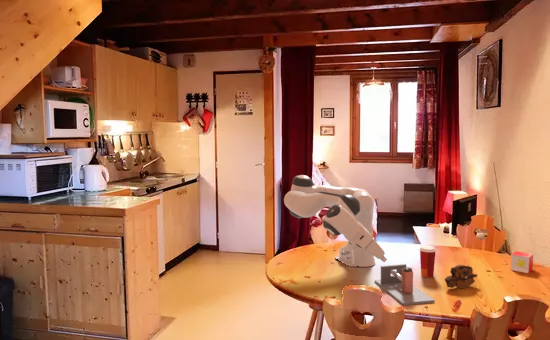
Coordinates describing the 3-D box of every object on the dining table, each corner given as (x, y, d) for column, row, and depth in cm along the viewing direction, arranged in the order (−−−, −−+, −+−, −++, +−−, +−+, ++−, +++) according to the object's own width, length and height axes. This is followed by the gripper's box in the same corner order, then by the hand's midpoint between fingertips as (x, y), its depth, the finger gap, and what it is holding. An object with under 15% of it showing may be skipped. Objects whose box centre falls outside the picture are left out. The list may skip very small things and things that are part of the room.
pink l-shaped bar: (385, 279, 207) (385, 257, 206) (393, 278, 208) (393, 257, 207) (405, 294, 189) (405, 270, 188) (413, 293, 190) (413, 269, 189)
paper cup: (435, 273, 218) (436, 245, 216) (435, 279, 210) (436, 250, 209) (418, 272, 220) (419, 244, 219) (418, 277, 213) (418, 248, 212)
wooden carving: (451, 292, 194) (451, 270, 193) (443, 288, 198) (444, 267, 197) (479, 286, 200) (479, 264, 199) (471, 283, 204) (471, 262, 203)
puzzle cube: (510, 270, 222) (511, 254, 221) (515, 266, 228) (515, 251, 227) (528, 273, 217) (529, 257, 216) (532, 269, 222) (533, 253, 222)
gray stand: (374, 282, 208) (374, 263, 207) (402, 279, 210) (402, 261, 209) (403, 305, 180) (403, 283, 179) (434, 302, 183) (435, 281, 182)
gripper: (344, 235, 194) (365, 255, 197) (362, 247, 174) (385, 270, 177) (354, 224, 195) (375, 245, 198) (373, 236, 175) (396, 258, 178)
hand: (380, 257), depth 187 cm, fingers open, 8 cm apart
